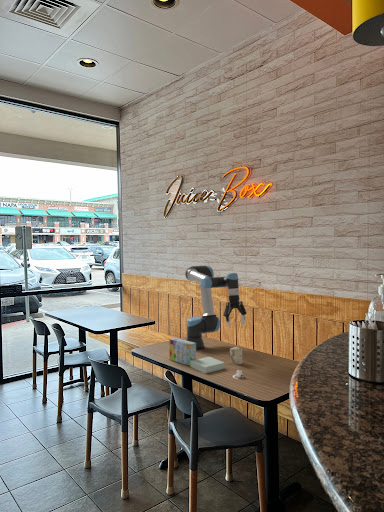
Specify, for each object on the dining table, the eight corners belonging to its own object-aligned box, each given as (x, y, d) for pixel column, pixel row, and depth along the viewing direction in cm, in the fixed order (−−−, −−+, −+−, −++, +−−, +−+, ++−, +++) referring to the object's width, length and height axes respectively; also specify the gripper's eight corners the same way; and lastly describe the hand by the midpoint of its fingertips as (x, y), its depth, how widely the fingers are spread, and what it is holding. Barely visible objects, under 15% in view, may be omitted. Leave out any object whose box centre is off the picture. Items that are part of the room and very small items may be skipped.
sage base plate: (190, 366, 263) (190, 360, 263) (209, 362, 272) (209, 356, 272) (205, 373, 250) (205, 367, 250) (224, 368, 259) (224, 362, 259)
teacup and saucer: (237, 373, 250) (237, 367, 250) (248, 376, 245) (248, 370, 245) (230, 377, 243) (230, 371, 243) (241, 380, 238) (241, 374, 238)
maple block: (229, 362, 272) (229, 348, 271) (236, 361, 275) (236, 346, 275) (235, 364, 267) (235, 350, 266) (242, 363, 270) (242, 348, 270)
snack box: (196, 364, 268) (196, 342, 267) (190, 366, 264) (190, 344, 263) (174, 358, 282) (174, 337, 281) (168, 359, 278) (168, 338, 277)
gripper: (224, 295, 267) (226, 327, 266) (250, 293, 283) (252, 323, 281) (216, 296, 273) (219, 327, 272) (242, 294, 288) (244, 323, 287)
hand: (236, 325), depth 276 cm, fingers open, 13 cm apart
